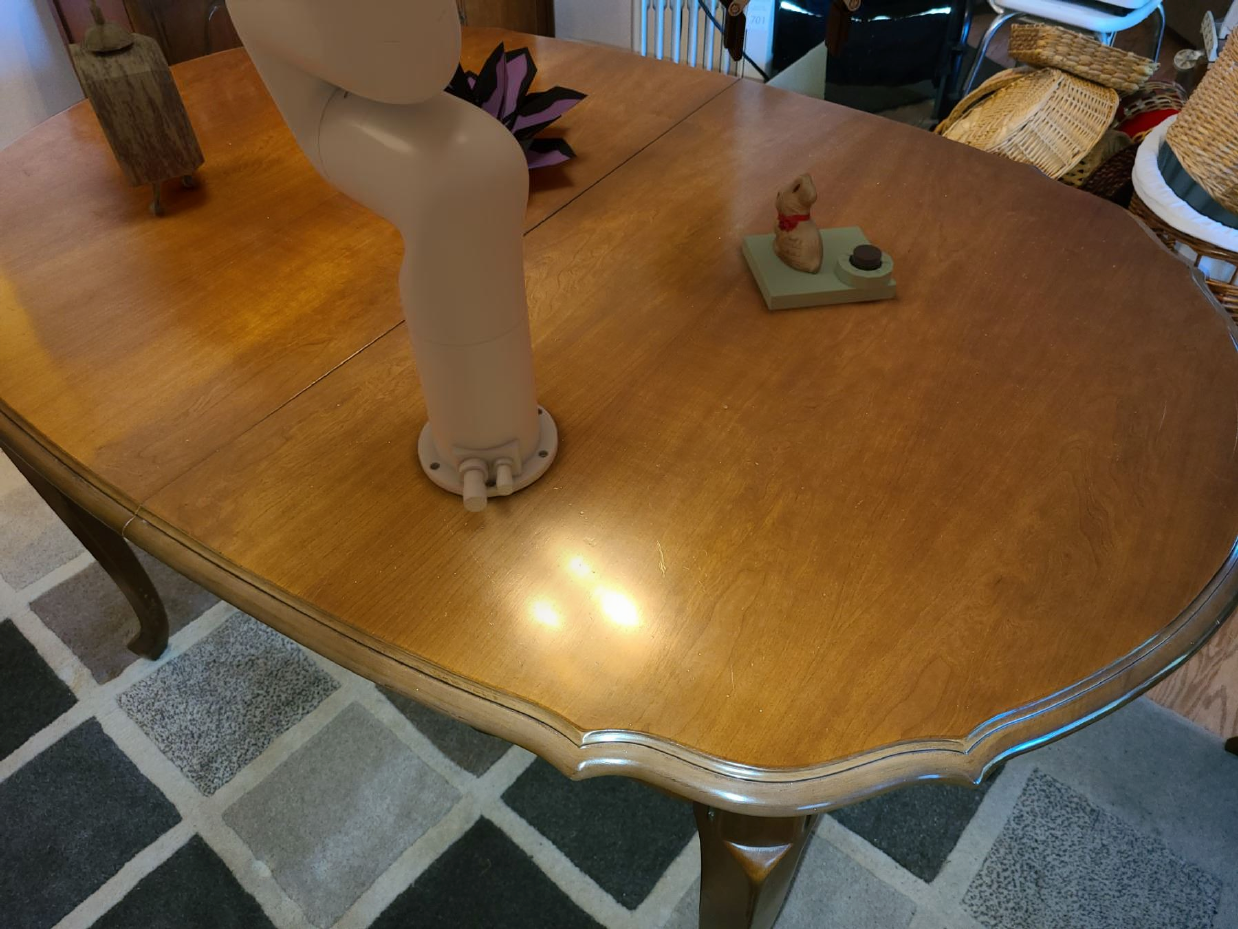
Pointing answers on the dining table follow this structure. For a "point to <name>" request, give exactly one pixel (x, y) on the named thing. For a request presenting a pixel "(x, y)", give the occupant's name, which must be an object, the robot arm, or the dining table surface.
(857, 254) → the button
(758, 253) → the scale
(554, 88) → the decorative flower
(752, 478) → the dining table surface
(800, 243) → the chocolate bunny
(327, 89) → the robot arm
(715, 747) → the dining table surface
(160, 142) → the tabletop clock
